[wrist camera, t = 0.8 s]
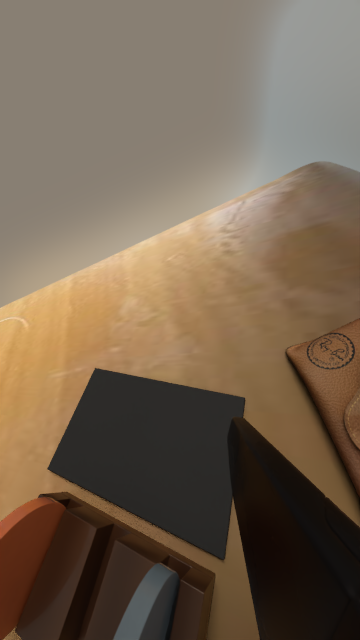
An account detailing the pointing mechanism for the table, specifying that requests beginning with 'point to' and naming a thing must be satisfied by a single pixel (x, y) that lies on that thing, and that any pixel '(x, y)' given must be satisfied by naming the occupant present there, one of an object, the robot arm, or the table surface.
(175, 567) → the coaster rack
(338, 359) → the sunglasses case
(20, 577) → the terracotta coaster
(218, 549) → the grey mat
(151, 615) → the blue-grey coaster
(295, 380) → the table surface
